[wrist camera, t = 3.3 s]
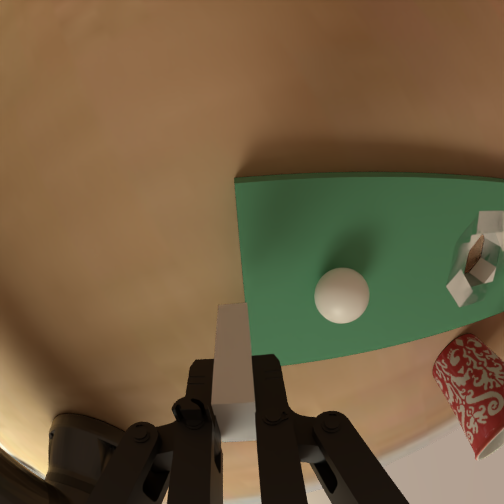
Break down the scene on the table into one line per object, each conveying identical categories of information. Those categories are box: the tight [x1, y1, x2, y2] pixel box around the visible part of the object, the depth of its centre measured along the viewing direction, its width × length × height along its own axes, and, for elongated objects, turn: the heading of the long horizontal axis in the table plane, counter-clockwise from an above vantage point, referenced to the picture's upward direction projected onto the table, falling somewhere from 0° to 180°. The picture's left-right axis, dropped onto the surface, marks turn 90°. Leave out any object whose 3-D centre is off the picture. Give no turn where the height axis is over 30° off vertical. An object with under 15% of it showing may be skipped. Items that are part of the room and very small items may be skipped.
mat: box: [234, 172, 504, 366], centre depth 21 cm, size 28×14×2 cm, turn 94°
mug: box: [433, 334, 504, 460], centre depth 22 cm, size 13×9×14 cm
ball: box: [314, 268, 369, 324], centre depth 18 cm, size 4×4×4 cm
